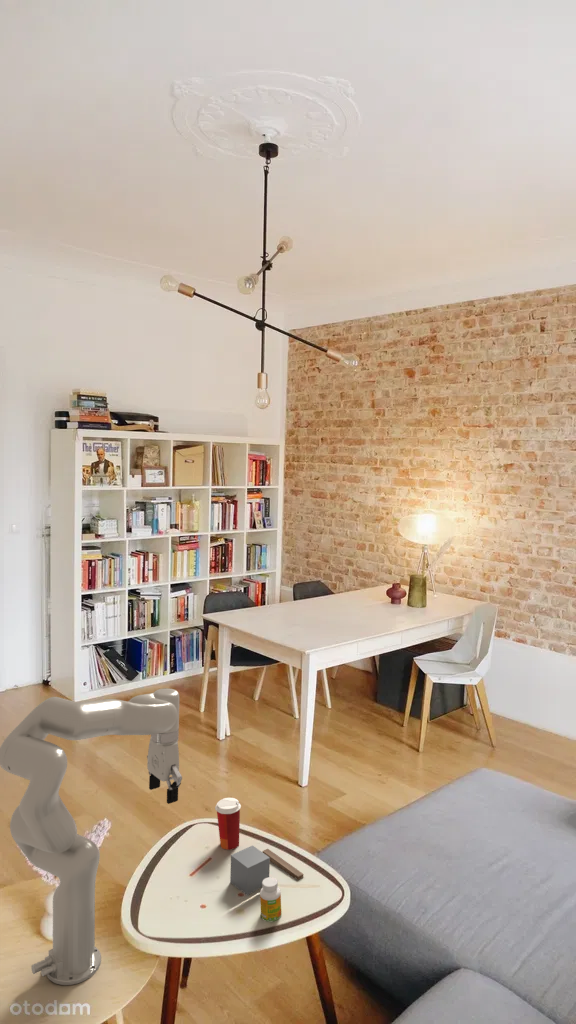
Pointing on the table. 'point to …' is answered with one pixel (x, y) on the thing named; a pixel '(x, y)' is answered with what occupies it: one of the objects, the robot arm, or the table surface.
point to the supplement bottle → (270, 900)
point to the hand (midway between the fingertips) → (163, 795)
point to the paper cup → (228, 822)
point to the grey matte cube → (249, 869)
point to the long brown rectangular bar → (283, 864)
